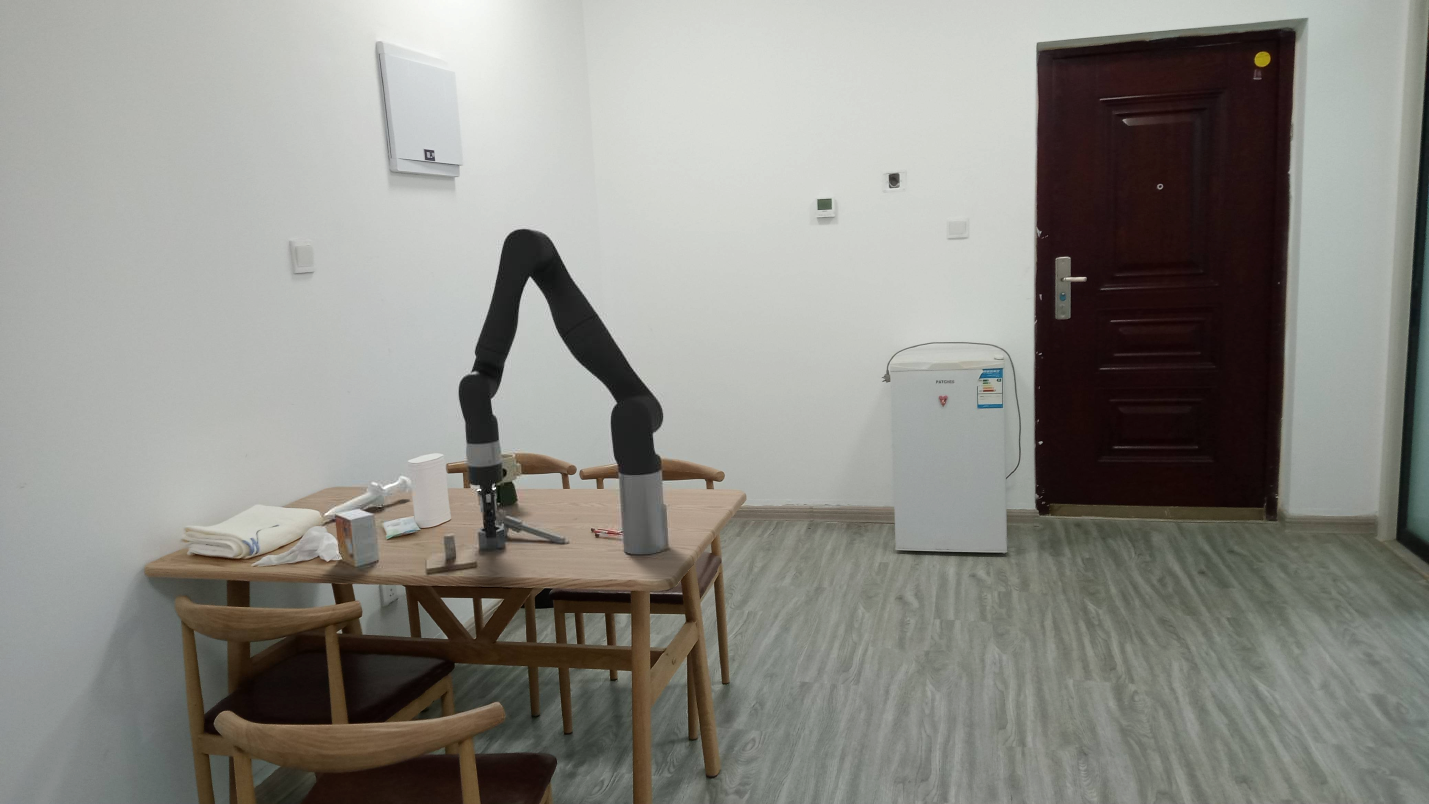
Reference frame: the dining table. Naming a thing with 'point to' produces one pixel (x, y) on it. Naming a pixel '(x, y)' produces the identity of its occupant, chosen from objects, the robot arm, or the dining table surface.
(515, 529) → the caliper
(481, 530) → the collar ring
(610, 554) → the dining table surface
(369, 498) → the dagger
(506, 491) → the character mug
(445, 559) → the inverted t stand
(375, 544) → the small box
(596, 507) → the dining table surface
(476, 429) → the robot arm
